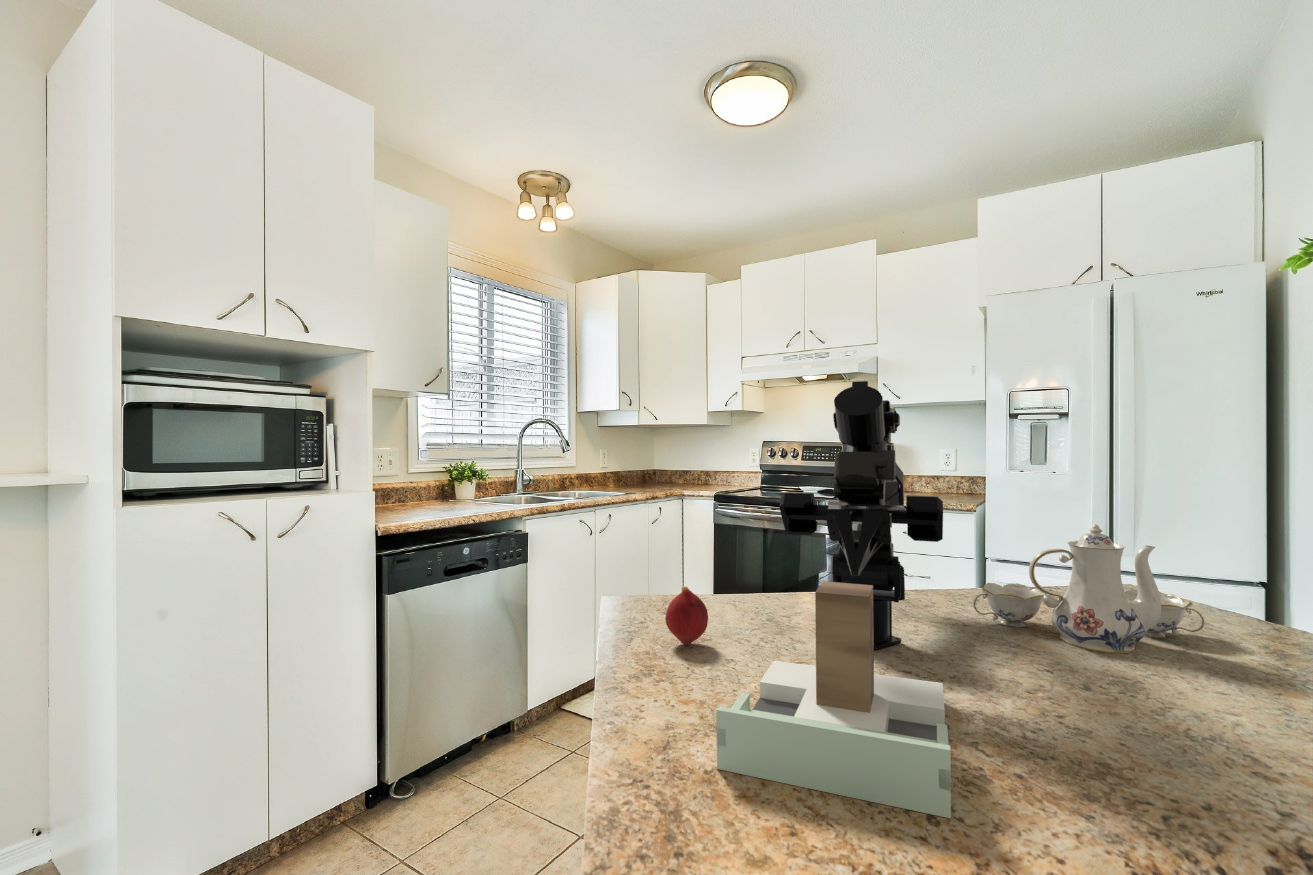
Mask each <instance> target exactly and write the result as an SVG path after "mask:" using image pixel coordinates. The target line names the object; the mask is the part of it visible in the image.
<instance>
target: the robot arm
mask: <svg viewBox="0 0 1313 875" xmlns="http://www.w3.org/2000/svg"><path fill="white" fill-rule="evenodd" d="M883 399H884V398H883V395H882V393H881V392H880V391H879V390H878V389H877V388H874V387H871V386H869V381H867V380H862V381H860V380H859V381H857V380H856V381H852V382H851V386H850V387H847V388H845V389H843V390H842V391H840V392H839V393H838V394H837V395H836V396H835V397H834V399H833V403H834V404H833V405H834V411H835V412H834V413H833V416H832V417H833V423H834V424H833V425H834V428H835V430H836V432H837V433H838V439H839V442H840V443H841V444H842V449H841V451H838V452H836V453H835V455H834V470H833V472H834V473H833V480H834V481H833V482H834V483H833V488H832V489H833V492H832V493H833V498H834V499H828V500H827V504H816V499H815V494H814V492H798V491H786V492H784V493H783V494H782V495H781V497H780V500H779V501H780V502H779V506H778V508H779V512H780V515H781V520H782V523H783V527H784V531H785V532H786V533H788V534H789V535H800V536H810V535H813V534H814V533H815V532H817V531H818V524H819V523H826V525H827V532H828V538H829V540H830V541H833V542H837V543H838V544H839V545H838V550H837V552H833V555H832V582H838V583H850V584H862V585H873V630H874V651H875V650H877V649H882V648H885V647H889V646H893V645H897V644H901V643H902V638H900V637H897V636H895V635H893V626H892V625H893V622H892V621H893V618H892V617H893V616H892V615H893V613H892V612H893V610H892V603H893V602H894V603H899V602H900V601H905V600H906V599H905V597H906V593H905V592H906V591H905V590H906V589H905V588H906V586H905V584H906V583H905V582H906V581H905V579H906V578H905V567H904V566H903V565H902V564H901V561H899V556H895V555H894V552H895V551H894V550H895V549H894V543H892V542H893V541H892V530H891V528H893V524H900V525H904V524H905V525H907V527H906V528H907V530H906V531H907V533H906V534H907V536H908V537H909V538H910V539H912V540H913V541H917V542H932V543H933V542H935V543H936V542H940V541H942V540H943V539H944V538H943V535H944V533H943V532H944V501H943V500H942V499H941V498H940V497H939V496H938V495H916V494H915V495H913V494H911V495H910V494H909V495H908V494H907V495H906V501H905V479H904V477H905V476H904V472H903V471H902V469H901V467H899V464H897V462H896V450H895V449H893V444H892V434H896V433H897V431H898V428H899V426H900V425H901V416H900V413H898V412H897V410H896V407H891V402H890V400H888V399H887V400H886V399H885V400H883ZM905 502H906V504H905ZM853 524H856V526H857V527H856V530H855V529H854V528H853Z"/></svg>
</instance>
